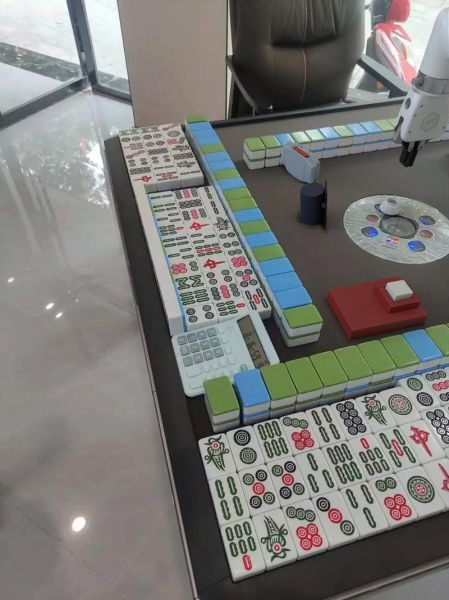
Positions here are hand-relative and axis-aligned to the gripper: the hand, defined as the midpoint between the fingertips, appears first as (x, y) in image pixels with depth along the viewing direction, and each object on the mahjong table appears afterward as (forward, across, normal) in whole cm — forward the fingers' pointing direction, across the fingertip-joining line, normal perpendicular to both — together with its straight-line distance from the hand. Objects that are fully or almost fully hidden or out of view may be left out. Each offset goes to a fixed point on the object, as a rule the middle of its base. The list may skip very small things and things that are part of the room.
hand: (405, 163), depth 100 cm
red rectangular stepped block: (+13, -20, -30) cm, 38 cm away
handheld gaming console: (+14, -16, +21) cm, 30 cm away
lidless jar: (+14, 0, 0) cm, 14 cm away
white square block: (+9, -16, -30) cm, 35 cm away
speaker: (+14, -20, +2) cm, 25 cm away
